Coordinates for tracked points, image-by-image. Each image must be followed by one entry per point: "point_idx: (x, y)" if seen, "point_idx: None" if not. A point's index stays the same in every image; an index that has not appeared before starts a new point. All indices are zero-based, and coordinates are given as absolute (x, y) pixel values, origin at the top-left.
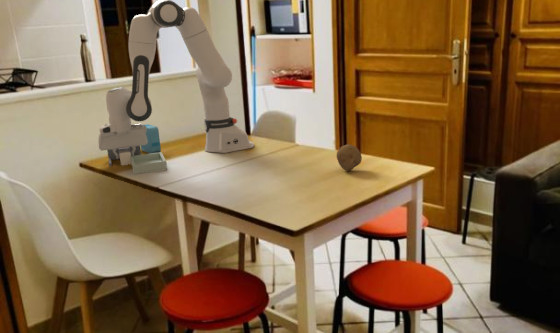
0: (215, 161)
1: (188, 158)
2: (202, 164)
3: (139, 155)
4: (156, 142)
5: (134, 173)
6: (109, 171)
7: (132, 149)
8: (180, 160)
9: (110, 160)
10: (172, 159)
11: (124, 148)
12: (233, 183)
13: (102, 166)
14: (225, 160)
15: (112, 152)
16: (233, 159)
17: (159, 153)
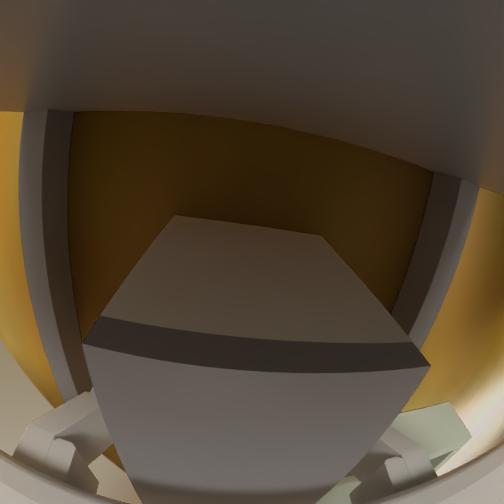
0: (478, 447)
1: (495, 405)
2: (445, 467)
3: (340, 482)
4: None
5: None
6: (104, 453)
7: (457, 165)
8: (466, 424)
9: (50, 321)
10: (471, 403)
11: (247, 485)
12: None
13: (20, 329)
14: (490, 442)
15: (32, 97)
16: (499, 437)
17: (449, 451)
